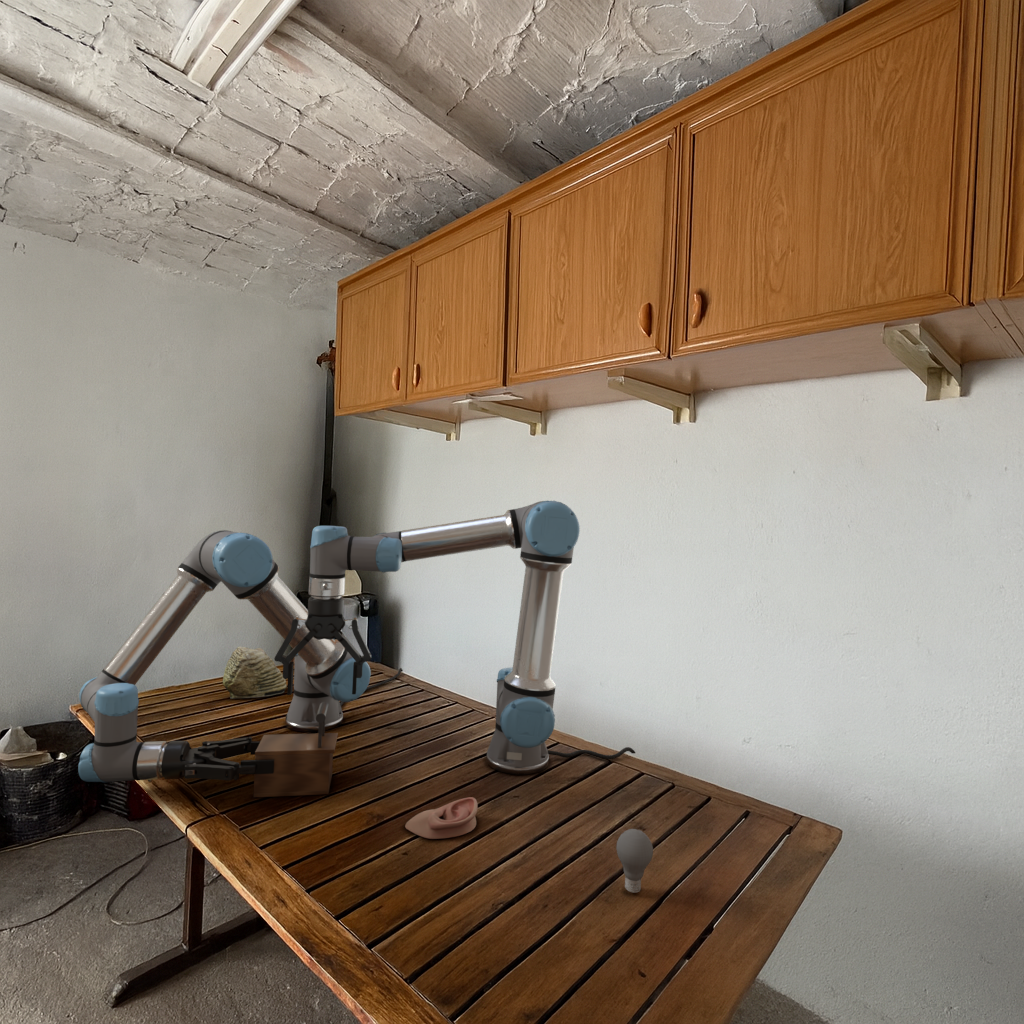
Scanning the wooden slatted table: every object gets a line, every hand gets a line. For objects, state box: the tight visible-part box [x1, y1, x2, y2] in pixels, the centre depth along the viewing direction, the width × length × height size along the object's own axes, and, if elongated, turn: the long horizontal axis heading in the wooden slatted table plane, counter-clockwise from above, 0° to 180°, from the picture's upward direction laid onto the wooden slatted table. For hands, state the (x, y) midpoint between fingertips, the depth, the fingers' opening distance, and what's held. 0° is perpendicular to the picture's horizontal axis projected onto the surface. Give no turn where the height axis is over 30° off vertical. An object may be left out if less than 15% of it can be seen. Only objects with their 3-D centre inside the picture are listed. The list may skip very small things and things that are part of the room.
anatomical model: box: [404, 796, 479, 840], centre depth 124 cm, size 13×4×12 cm
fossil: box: [222, 646, 288, 699], centre depth 198 cm, size 9×18×15 cm, turn 132°
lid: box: [254, 702, 339, 757], centre depth 138 cm, size 16×10×8 cm, turn 101°
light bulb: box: [615, 828, 654, 894], centre depth 106 cm, size 6×6×10 cm
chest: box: [253, 753, 334, 798], centre depth 138 cm, size 15×10×9 cm, turn 101°
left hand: (277, 756), depth 137 cm, fingers closed on chest, 10 cm apart
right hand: (322, 693), depth 139 cm, fingers open, 13 cm apart
